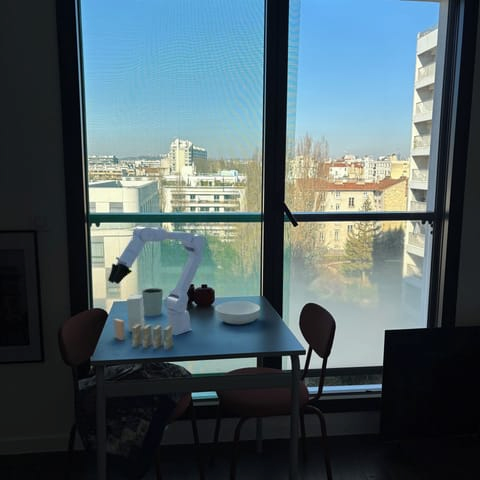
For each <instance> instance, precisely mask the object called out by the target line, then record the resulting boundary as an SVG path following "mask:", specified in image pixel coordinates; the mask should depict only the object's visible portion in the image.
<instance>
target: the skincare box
mask: <svg viewBox="0 0 480 480" xmlns="http://www.w3.org/2000/svg"><path fill="white" fill-rule="evenodd" d="M126 306H127V309H126V310H127V320H128V332H131V333H132V327H134V326H135V325H136V324H141V332H142V328H144V327H145V326H146V324H145V315H144V306H143V295H142V294H136V295H135V294H133V295H130V296H128V298H127V299H126Z"/></svg>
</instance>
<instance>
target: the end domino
mask: <svg viewBox="0 0 480 480" xmlns="http://www.w3.org/2000/svg"><path fill="white" fill-rule="evenodd" d="M113 325H114V338H115V339H118V340H120V341H123V340H125V339H126V335H125V321H124V320H123V319H120V318H114V319H113Z"/></svg>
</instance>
